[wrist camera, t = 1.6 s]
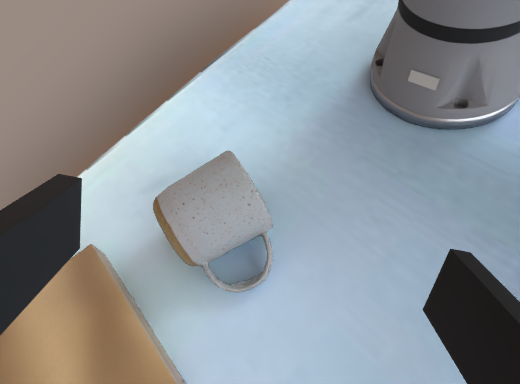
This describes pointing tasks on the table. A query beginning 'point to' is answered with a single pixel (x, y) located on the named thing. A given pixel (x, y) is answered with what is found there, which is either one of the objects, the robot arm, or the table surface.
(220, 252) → the ceramic mug
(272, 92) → the table surface
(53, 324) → the board
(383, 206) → the table surface
